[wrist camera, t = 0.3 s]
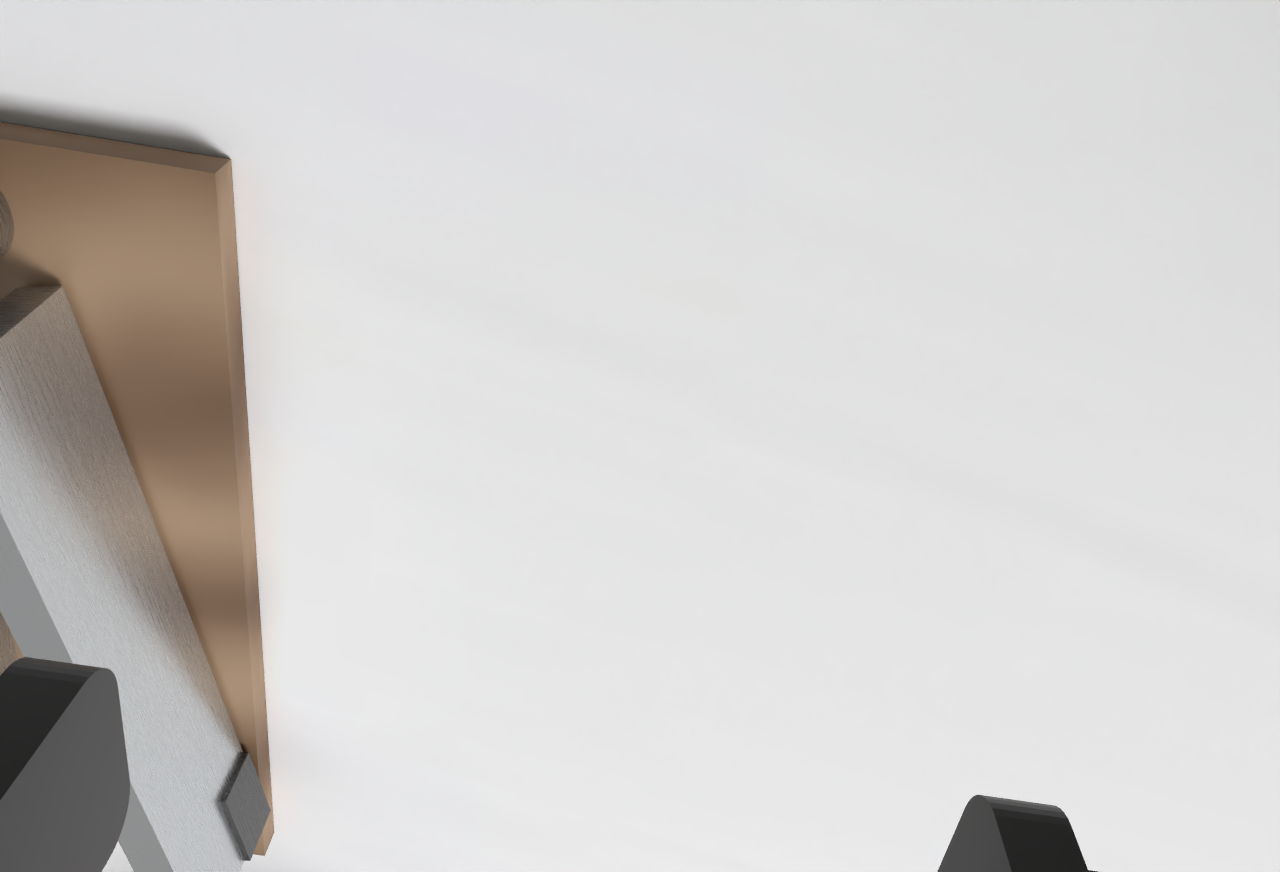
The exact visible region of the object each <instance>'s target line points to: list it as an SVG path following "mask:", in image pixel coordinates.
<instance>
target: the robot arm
mask: <svg viewBox="0 0 1280 872" xmlns="http://www.w3.org/2000/svg"><path fill="white" fill-rule="evenodd" d="M129 797H130V777H129V769H128V761H127V753H126V746H125V738H124V730H123V722H122V714H121V706H120V699H119V691H118V684H117V679H116V677H115V674H114V673H113V672H112V671H111V670H110V669H108V668H101V667H94V666H87V665H79V664H72V663H65V662H58V661H51V660H44V659H37V658H30V657H24V658H20V659H18V660H16V661H14V662H13V663H12V664H11V665H9V666H8V667H7V669H6V670H5V671H4V672H3V673H2V674H1V675H0V872H102V870H103V868H104V866H105V865H106V863H107V861H108V859H109V858H110V856H111V854H112V852H113V850H114V848H115V846H116V844H117V841H118V839H119V836H120V834H121V831H122V828H123V825H124V822H125V818H126V814H127V810H128V804H129ZM938 872H1097V871H1090V870H1088V869H1087V866H1086V864H1085V861H1084V859H1083V856H1082V853H1081V851H1080V848H1079V845H1078V843H1077V840H1076V837H1075V835H1074V832H1073V830H1072V827H1071V825H1070V822H1069V820H1068V818H1067V817H1066V815H1065V813H1064V812H1063V811H1062V810H1061V809H1060V808H1058V807H1057V806H1053V805H1046V804H1039V803H1032V802H1025V801H1018V800H1011V799H1004V798H997V797H990V796H983V795H976V796H974V797H973V798H971V799H970V801H969V802H968V804H967V805H966V807H965V809H964V812H963V814H962V816H961V819H960V821H959V823H958V826H957V828H956V830H955V833H954V835H953V837H952V840H951V842H950V844H949V846H948V849H947V851H946V853H945V856H944V858H943V860H942V863H941V865H940V867H939V870H938Z"/></svg>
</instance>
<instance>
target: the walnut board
mask: <svg viewBox="0 0 1280 872" xmlns="http://www.w3.org/2000/svg"><path fill="white" fill-rule="evenodd" d="M0 191H1V192H2V194H3V195H4V197H5V199H6V201H7V203H8V205H9V208H10V210H11V213H12V217H13V223H14V235H13V240H12V243H11V246H10V248H9V249H8V251H7V252H6V254H5V255H4V256H3V257H2V258H0V300H1V299H3V298H4V297H5V296H6V295H8V294H9V293H10V292H12V291H13V290H14V289H15V288H19V287H48V286H63V288H64V291H65V293H66V296H67V299H68V301H69V304H70V306H71V309H72V312H73V314H74V317H75V319H76V322H77V325H78V327H79V330H80V332H81V335H82V337H83V340H84V343H85V345H86V348H87V350H88V353H89V356H90V358H91V361H92V363H93V366H94V368H95V371H96V374H97V376H98V379H99V381H100V384H101V387H102V389H103V392H104V394H105V397H106V400H107V402H108V405H109V407H110V410H111V412H112V415H113V418H114V420H115V423H116V425H117V428H118V431H119V433H120V436H121V438H122V441H123V443H124V446H125V449H126V451H127V454H128V456H129V459H130V462H131V464H132V467H133V469H134V472H135V474H136V477H137V480H138V482H139V485H140V487H141V490H142V493H143V495H144V498H145V500H146V503H147V506H148V508H149V511H150V513H151V516H152V518H153V521H154V524H155V526H156V529H157V531H158V534H159V537H160V539H161V542H162V544H163V547H164V549H165V552H166V555H167V557H168V560H169V562H170V565H171V568H172V570H173V573H174V575H175V578H176V580H177V583H178V586H179V588H180V591H181V593H182V596H183V599H184V601H185V604H186V606H187V609H188V612H189V614H190V617H191V619H192V622H193V624H194V627H195V630H196V632H197V635H198V637H199V640H200V643H201V645H202V648H203V650H204V653H205V655H206V658H207V661H208V663H209V666H210V668H211V671H212V674H213V676H214V679H215V681H216V684H217V686H218V689H219V692H220V694H221V697H222V699H223V702H224V705H225V707H226V710H227V712H228V715H229V718H230V720H231V723H232V725H233V728H234V730H235V733H236V736H237V738H238V741H239V743H240V746H241V749H242V751H243V752H249V754H250V757H251V760H252V762H253V765H254V767H255V770H256V773H257V775H258V778H259V780H260V783H261V786H262V788H263V791H264V793H265V796H266V799H267V801H268V804H269V807H270V809H271V811H270V814H269V816H268V819H267V821H266V823H265V826H264V828H263V831H262V833H261V836H260V838H259V841H258V843H257V845H256V848H255V850H254V853H253V854H256V855H263V856H265V854H266V851H267V849H268V846H269V844H270V841H271V839H272V836H273V834H274V825H273V809H272V793H271V778H270V762H269V746H268V731H267V715H266V699H265V684H264V668H263V652H262V637H261V621H260V605H259V590H258V574H257V558H256V542H255V527H254V511H253V495H252V480H251V464H250V448H249V433H248V417H247V401H246V386H245V370H244V354H243V338H242V323H241V307H240V291H239V276H238V260H237V244H236V229H235V213H234V197H233V182H232V166H231V159H226V158H220V157H213V156H207V155H201V154H195V153H189V152H183V151H176V150H170V149H164V148H158V147H152V146H146V145H139V144H133V143H127V142H121V141H115V140H109V139H102V138H96V137H90V136H84V135H78V134H71V133H65V132H59V131H53V130H47V129H41V128H34V127H28V126H22V125H16V124H10V123H4V122H0ZM12 637H13V635H12ZM13 641H14V646H15V650H16V654H17V658H18V659H20V658H24V656H23V654H22V652H21V650H20V648H19V647H18V645H17V643H16V641H15V639H14V637H13Z"/></svg>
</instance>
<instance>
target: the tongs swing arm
mask: <svg viewBox="0 0 1280 872" xmlns="http://www.w3.org/2000/svg"><path fill="white" fill-rule="evenodd" d="M0 611H1V613H2V615H3V617H4V619H5V621H6V623H7V625H8V627H9V629H10V631H11V633H12V635H13V637H14V639H15V641H16V643H17V645H18V647H19V648H20V650H21V652H22V654H23V656H24V657H30V658H37V659H44V660H51V661H58V662H65V663H72V664H79V665H87V666H94V667H101V668H108V669H110V670H111V671H112V672H113V673H114V674H115V677H116V679H117V684H118V691H119V699H120V706H121V714H122V722H123V730H124V738H125V746H126V753H127V761H128V769H129V777H130V797H129V804H128V810H127V814H126V818H125V822H124V825H123V828H122V831H121V834H120V836H119V839H118V841H119V843H120V845H121V847H122V849H123V851H124V853H125V855H126V857H127V859H128V861H129V862H130V864H131V866H132V868H133V870H134V872H240V870H241V868H242V865H243V863H244V861H250V860H251V858H252V855H253V853H254V850H255V848H256V845H257V843H258V841H259V838H260V836H261V833H262V831H263V828H264V826H265V823H266V821H267V819H268V816H269V814H270V811H271V809H270V807H269V804H268V801H267V799H266V796H265V793H264V791H263V788H262V786H261V783H260V780H259V778H258V775H257V773H256V770H255V767H254V765H253V762H252V760H251V757H250V754H249V752H243V751H242V749H241V746H240V743H239V741H238V738H237V736H236V733H235V730H234V728H233V725H232V723H231V720H230V718H229V715H228V712H227V710H226V707H225V705H224V702H223V699H222V697H221V694H220V692H219V689H218V686H217V684H216V681H215V679H214V676H213V674H212V671H211V668H210V666H209V663H208V661H207V658H206V655H205V653H204V650H203V648H202V645H201V643H200V640H199V637H198V635H197V632H196V630H195V627H194V624H193V622H192V619H191V617H190V614H189V612H188V609H187V606H186V604H185V601H184V599H183V596H182V593H181V591H180V588H179V586H178V583H177V580H176V578H175V575H174V573H173V570H172V568H171V565H170V562H169V560H168V557H167V555H166V552H165V549H164V547H163V544H162V542H161V539H160V537H159V534H158V531H157V529H156V526H155V524H154V521H153V518H152V516H151V513H150V511H149V508H148V506H147V503H146V500H145V498H144V495H143V493H142V490H141V487H140V485H139V482H138V480H137V477H136V474H135V472H134V469H133V467H132V464H131V462H130V459H129V456H128V454H127V451H126V449H125V446H124V443H123V441H122V438H121V436H120V433H119V431H118V428H117V425H116V423H115V420H114V418H113V415H112V412H111V410H110V407H109V405H108V402H107V400H106V397H105V394H104V392H103V389H102V387H101V384H100V381H99V379H98V376H97V374H96V371H95V368H94V366H93V363H92V361H91V358H90V356H89V353H88V350H87V348H86V345H85V343H84V340H83V337H82V335H81V332H80V330H79V327H78V325H77V322H76V319H75V317H74V314H73V312H72V309H71V306H70V304H69V301H68V299H67V296H66V293H65V291H64V288H63V286H48V287H19V288H15V289H14V290H13V291H12V292H10V293H9V294H8V295H6V296H5V297H4V298H3V299H1V300H0Z"/></svg>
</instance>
